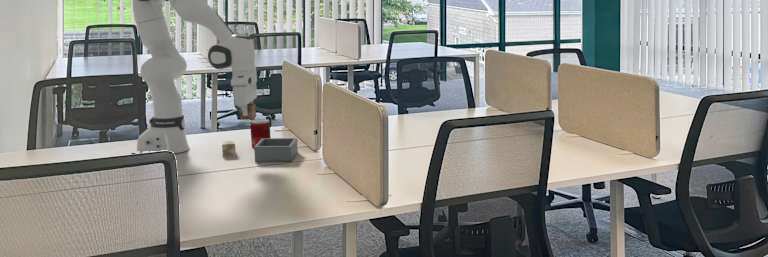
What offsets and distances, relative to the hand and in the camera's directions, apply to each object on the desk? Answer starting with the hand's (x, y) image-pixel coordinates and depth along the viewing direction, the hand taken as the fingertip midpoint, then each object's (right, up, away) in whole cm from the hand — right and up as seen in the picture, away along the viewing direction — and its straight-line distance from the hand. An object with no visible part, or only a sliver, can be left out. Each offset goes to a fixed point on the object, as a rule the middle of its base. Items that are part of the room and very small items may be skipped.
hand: (247, 114), depth 272 cm
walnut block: (0, -2, 0) cm, 2 cm away
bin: (+10, -17, +7) cm, 21 cm away
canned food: (+1, -13, +25) cm, 28 cm away
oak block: (-10, -16, +13) cm, 22 cm away
